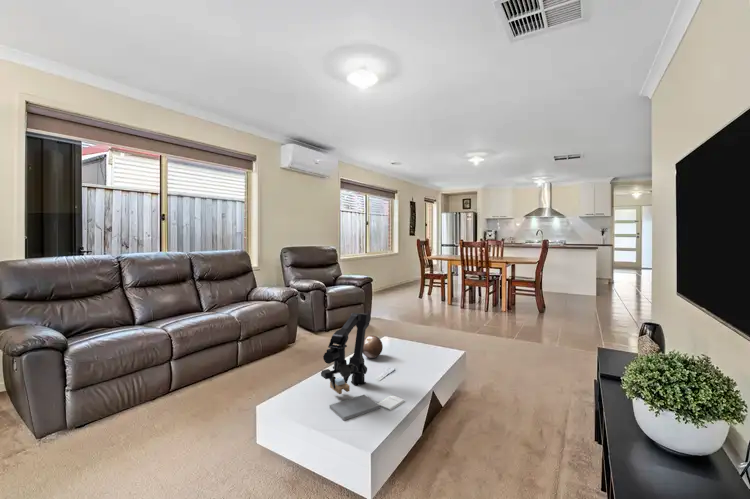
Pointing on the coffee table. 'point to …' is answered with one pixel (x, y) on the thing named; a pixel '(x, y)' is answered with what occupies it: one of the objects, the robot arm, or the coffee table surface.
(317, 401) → the coffee table surface
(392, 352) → the coffee table surface
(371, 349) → the wooden sphere
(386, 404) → the external hard drive
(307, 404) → the coffee table surface
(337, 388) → the board
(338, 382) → the pale blue square block
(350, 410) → the slate dock
